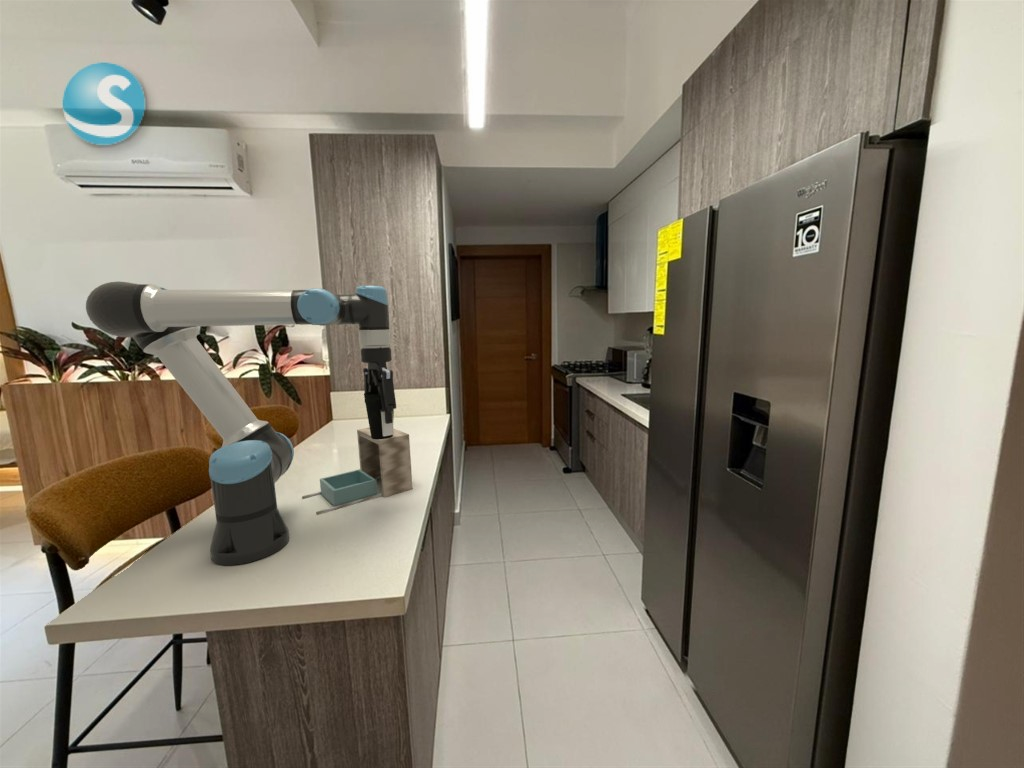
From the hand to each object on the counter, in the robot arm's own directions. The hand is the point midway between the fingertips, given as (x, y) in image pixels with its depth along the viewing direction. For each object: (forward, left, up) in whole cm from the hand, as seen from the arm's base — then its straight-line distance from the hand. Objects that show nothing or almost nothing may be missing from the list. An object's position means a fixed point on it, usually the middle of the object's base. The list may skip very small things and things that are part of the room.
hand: (381, 432), depth 112 cm
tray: (-5, +16, -21) cm, 27 cm away
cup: (0, 0, -1) cm, 1 cm away
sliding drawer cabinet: (-2, +16, -21) cm, 26 cm away
